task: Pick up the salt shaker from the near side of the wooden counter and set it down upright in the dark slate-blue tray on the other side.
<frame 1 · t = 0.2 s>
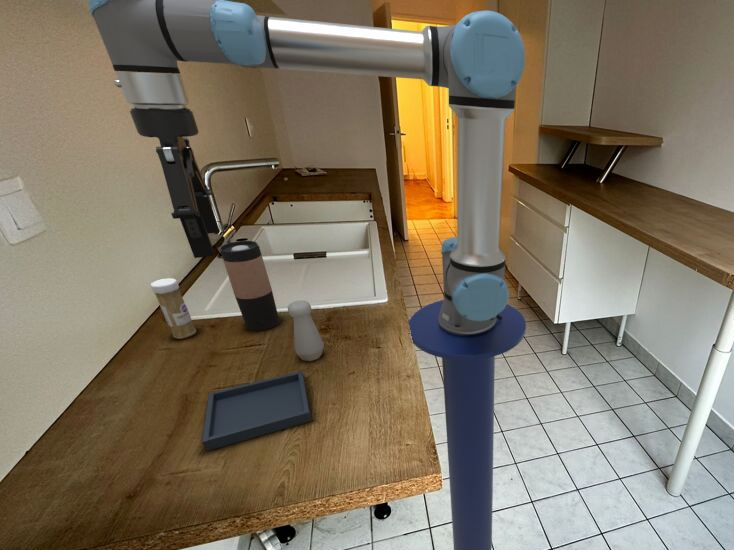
hand: (208, 243, 72), 27 cm above the worktop, tool pointing down, fingers open, 13 cm apart
tray: (261, 411, 75), on the worktop
sprinkles bottle: (185, 335, 96), on the worktop
travel mug: (263, 324, 102), on the worktop
salt shaker: (311, 356, 90), on the worktop
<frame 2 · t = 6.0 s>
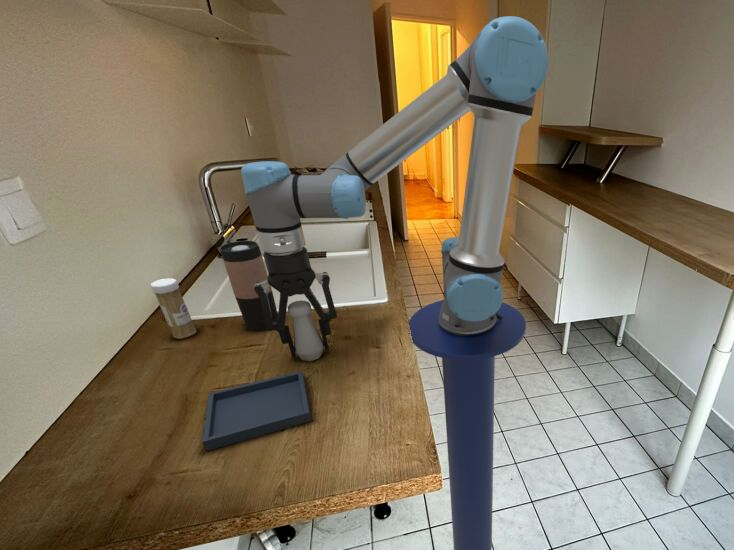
hand: (310, 350, 90), 1 cm above the worktop, tool pointing down, fingers closed on salt shaker, 6 cm apart
salt shaker: (311, 356, 90), on the worktop, touching gripper
everything else where it was.
when the fingers open (2 cm above the worktop, at t = 13.1 s): salt shaker stays where it is, resting on tray.
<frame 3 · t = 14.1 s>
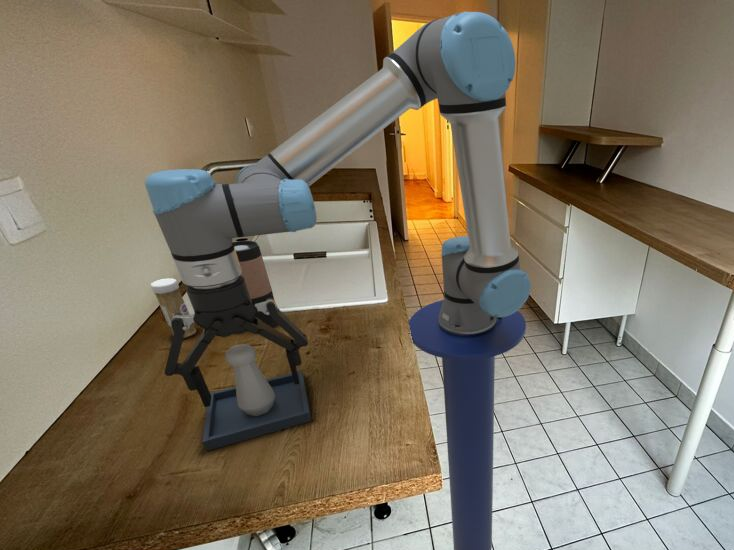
hand: (254, 390, 72), 5 cm above the worktop, tool pointing down, fingers open, 13 cm apart
salt shaker: (260, 409, 74), resting on tray
everything else where it was.
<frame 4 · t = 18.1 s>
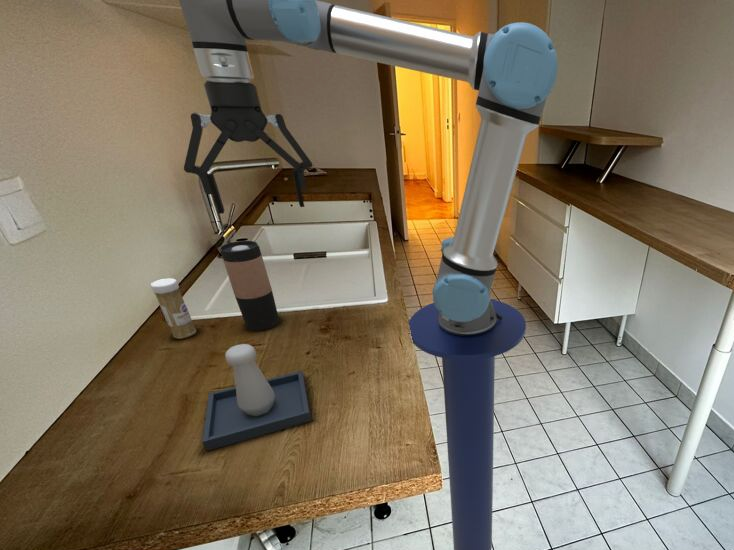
hand: (263, 208, 79), 31 cm above the worktop, tool pointing down, fingers open, 13 cm apart
nothing on the worktop moved.
at the end: salt shaker inside the target area in the tray (0.0 cm from its centre), point 0.4 cm above the tray's base; salt shaker tilted 0°; the gripper is holding nothing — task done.
